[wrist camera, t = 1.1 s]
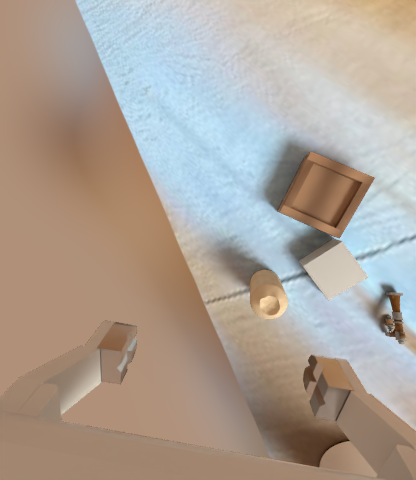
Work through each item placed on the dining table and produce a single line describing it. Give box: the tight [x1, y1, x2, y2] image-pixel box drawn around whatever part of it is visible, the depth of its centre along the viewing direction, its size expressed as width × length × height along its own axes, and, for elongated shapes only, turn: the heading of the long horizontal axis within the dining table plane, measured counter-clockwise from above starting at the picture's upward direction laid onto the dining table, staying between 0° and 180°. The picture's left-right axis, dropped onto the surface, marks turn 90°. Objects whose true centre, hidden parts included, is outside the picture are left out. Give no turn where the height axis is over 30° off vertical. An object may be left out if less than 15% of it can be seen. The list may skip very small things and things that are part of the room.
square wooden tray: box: [278, 152, 375, 238], centre depth 37 cm, size 10×10×4 cm
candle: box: [250, 270, 288, 319], centre depth 38 cm, size 6×6×10 cm
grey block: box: [299, 238, 368, 300], centre depth 39 cm, size 7×7×4 cm
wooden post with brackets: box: [385, 292, 406, 344], centre depth 38 cm, size 2×8×4 cm, turn 0°
